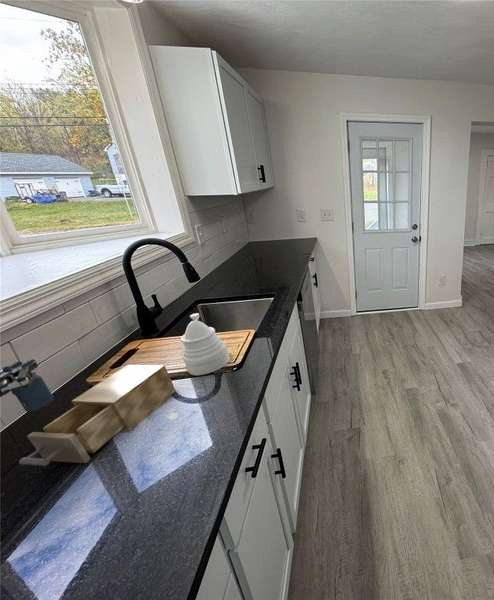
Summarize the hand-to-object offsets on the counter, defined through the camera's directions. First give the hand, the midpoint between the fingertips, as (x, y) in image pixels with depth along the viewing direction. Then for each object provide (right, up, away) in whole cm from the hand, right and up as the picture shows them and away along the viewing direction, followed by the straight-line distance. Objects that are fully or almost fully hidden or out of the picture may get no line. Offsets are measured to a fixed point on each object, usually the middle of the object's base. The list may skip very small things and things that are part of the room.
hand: (27, 363), depth 74 cm
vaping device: (+2, -10, +1) cm, 11 cm away
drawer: (+11, -20, +3) cm, 23 cm away
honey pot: (+22, -7, +34) cm, 41 cm away
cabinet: (+13, -16, +15) cm, 25 cm away
